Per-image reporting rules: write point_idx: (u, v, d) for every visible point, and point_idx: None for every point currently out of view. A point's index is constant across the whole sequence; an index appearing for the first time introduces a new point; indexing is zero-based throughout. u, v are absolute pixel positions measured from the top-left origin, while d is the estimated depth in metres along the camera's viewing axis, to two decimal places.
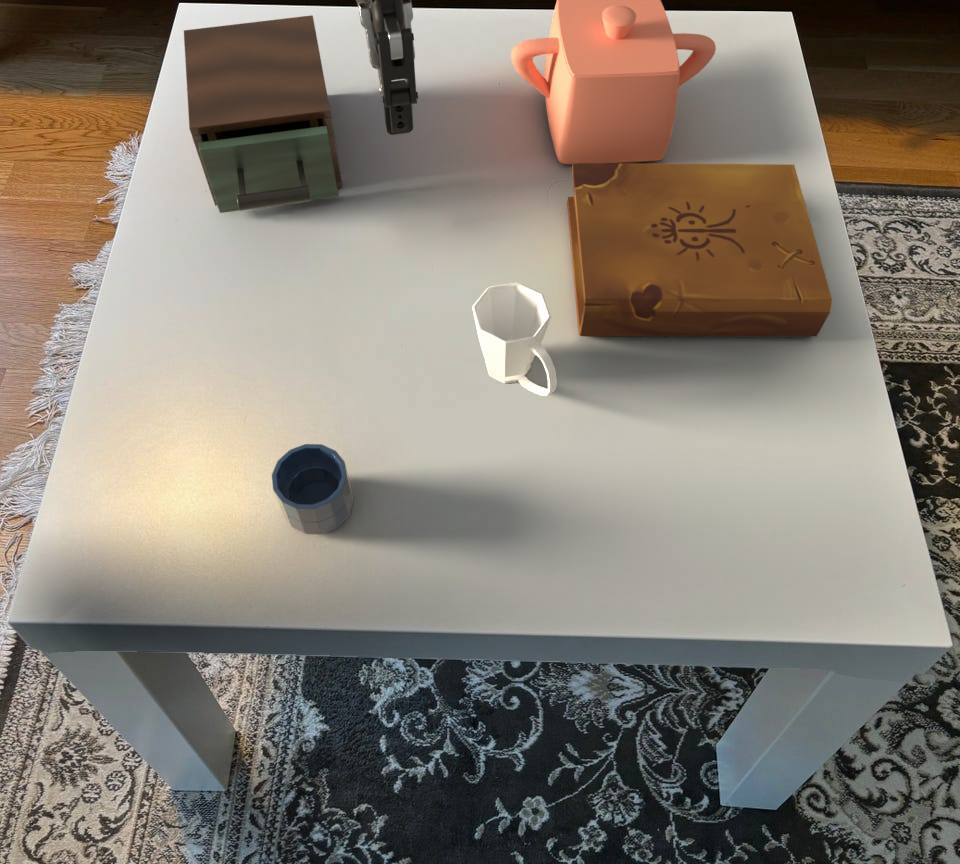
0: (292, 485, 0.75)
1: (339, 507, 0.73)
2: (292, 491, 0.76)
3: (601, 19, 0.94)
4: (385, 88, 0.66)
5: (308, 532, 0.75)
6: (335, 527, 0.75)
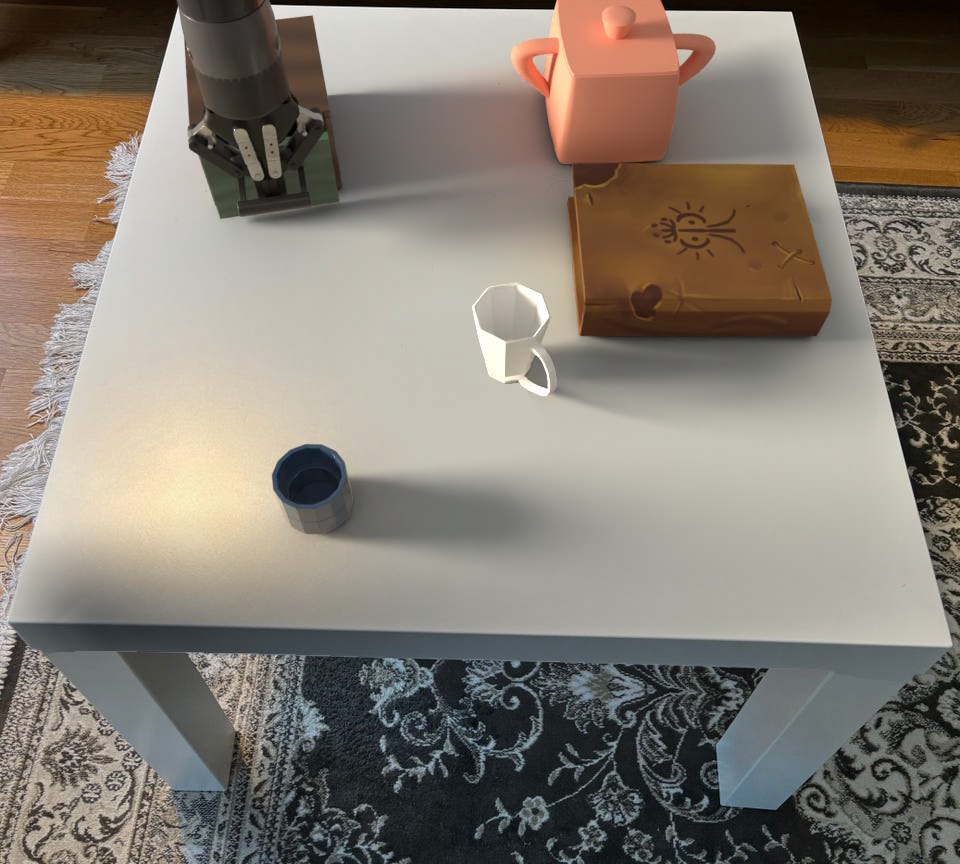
0: (292, 485, 0.75)
1: (339, 507, 0.73)
2: (292, 491, 0.76)
3: (601, 19, 0.94)
4: None
5: (308, 532, 0.75)
6: (335, 527, 0.75)
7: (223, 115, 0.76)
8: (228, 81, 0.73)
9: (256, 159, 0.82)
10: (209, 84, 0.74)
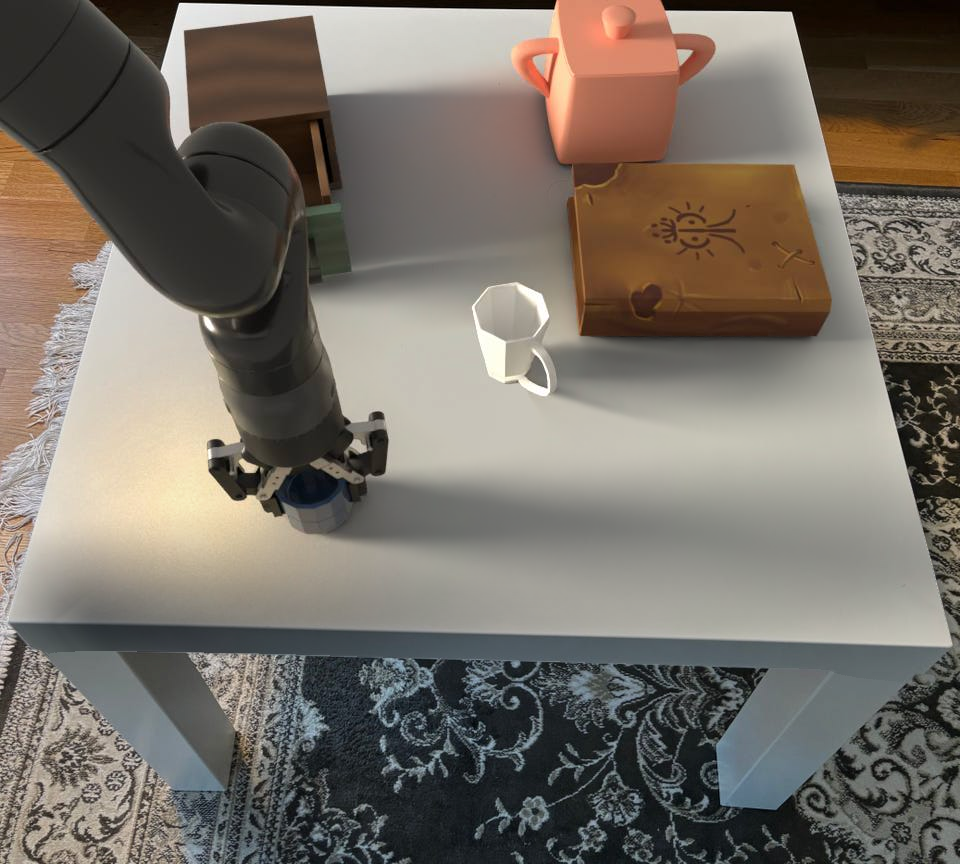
0: (292, 485, 0.75)
1: (339, 507, 0.73)
2: (292, 491, 0.76)
3: (601, 19, 0.94)
4: None
5: (308, 532, 0.75)
6: (335, 527, 0.75)
7: (266, 463, 0.64)
8: (274, 441, 0.60)
9: (278, 487, 0.70)
10: (251, 439, 0.61)
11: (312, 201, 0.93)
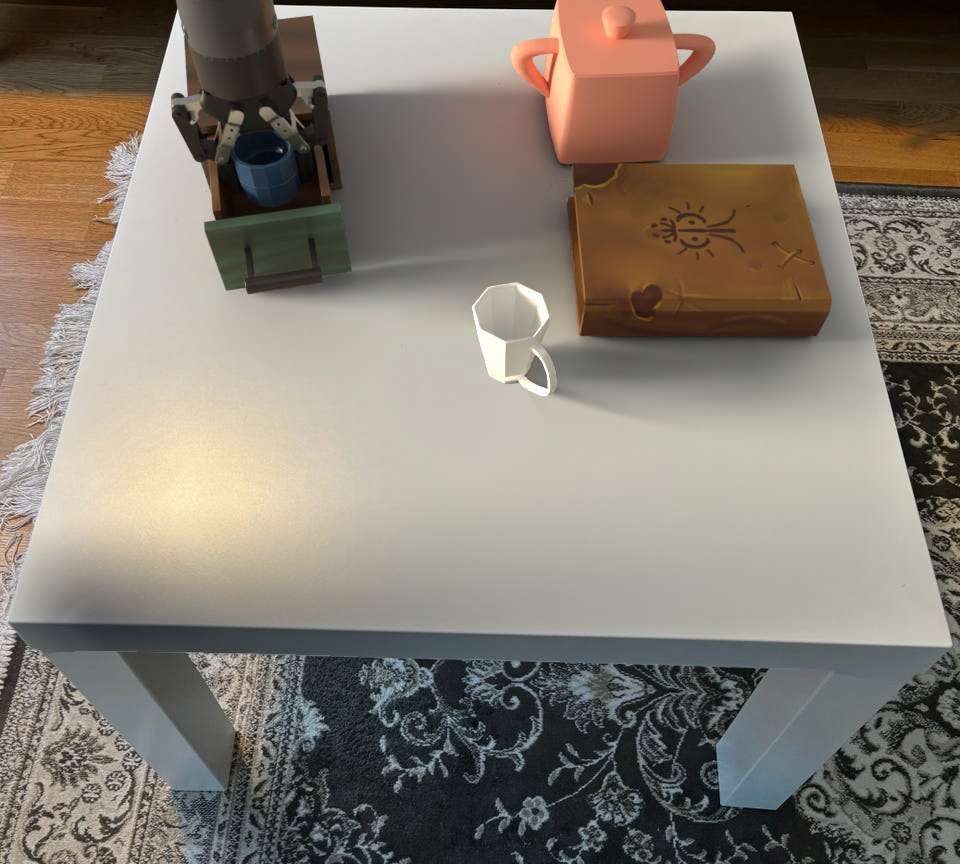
0: None
1: (288, 176, 0.84)
2: None
3: (601, 19, 0.94)
4: None
5: (262, 204, 0.86)
6: (286, 200, 0.86)
7: (219, 96, 0.75)
8: (224, 60, 0.71)
9: (233, 144, 0.81)
10: (205, 64, 0.72)
11: (312, 201, 0.93)
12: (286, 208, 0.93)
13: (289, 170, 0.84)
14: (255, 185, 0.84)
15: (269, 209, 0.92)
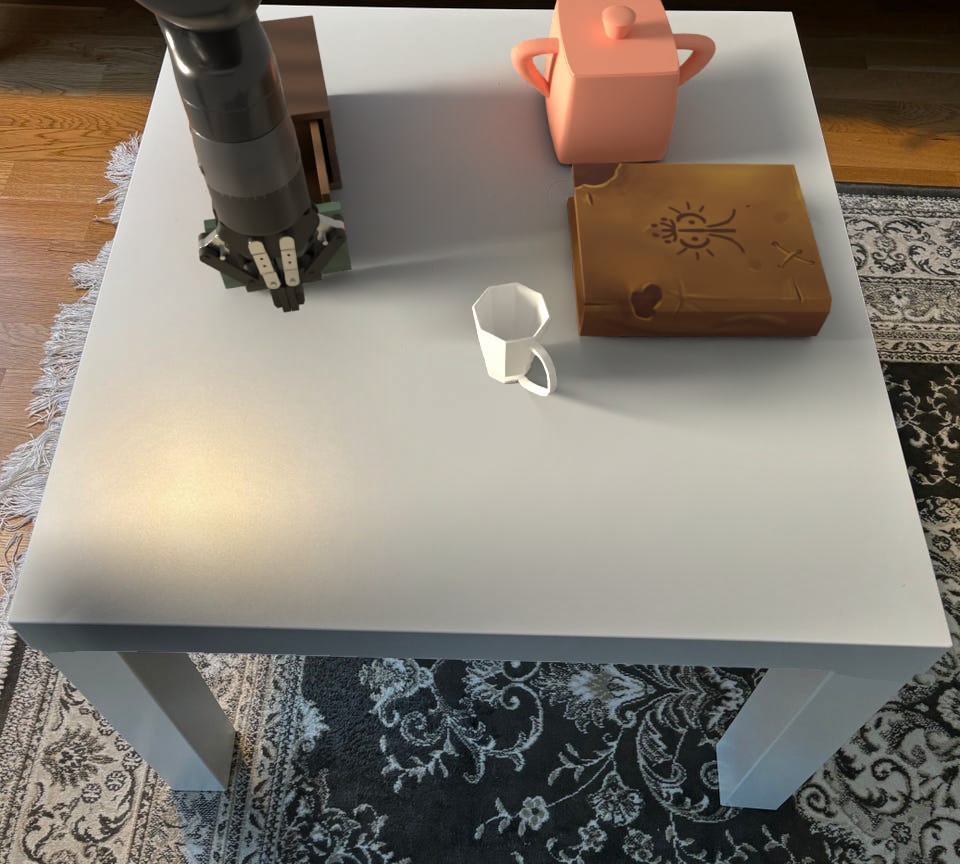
0: None
1: None
2: None
3: (601, 19, 0.94)
4: None
5: None
6: None
7: (237, 231, 0.70)
8: (243, 199, 0.66)
9: (272, 269, 0.76)
10: (223, 201, 0.67)
11: (312, 200, 0.93)
12: None
13: None
14: None
15: None
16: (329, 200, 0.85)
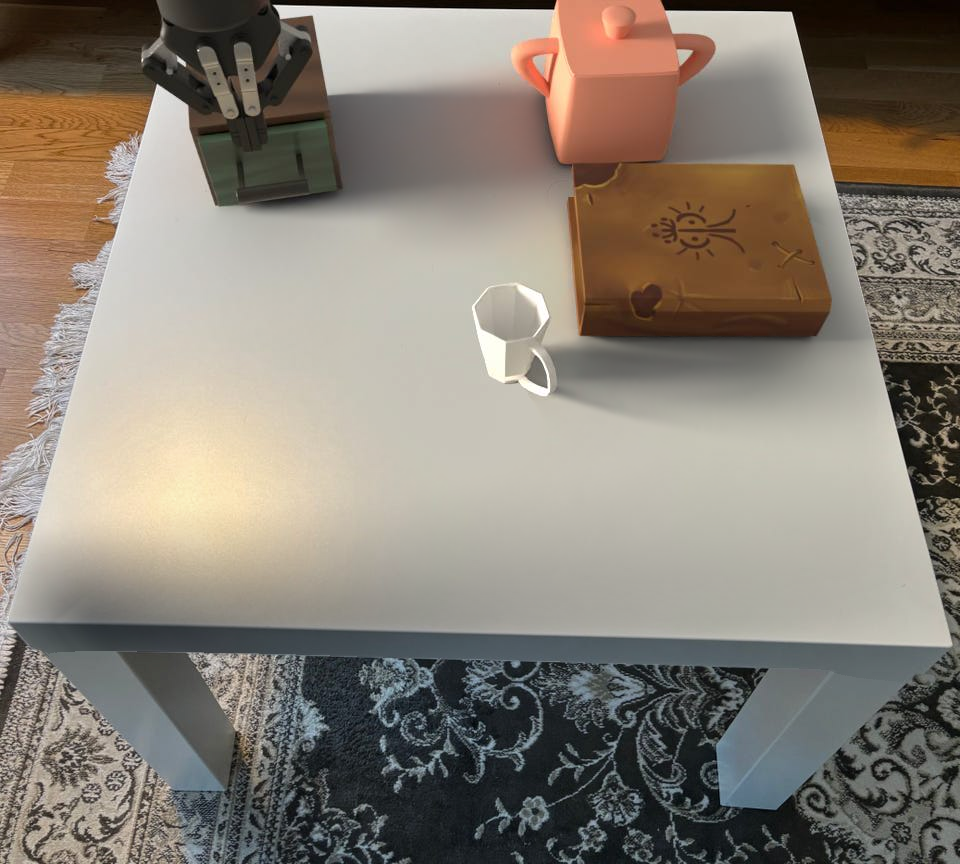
0: None
1: None
2: None
3: (601, 19, 0.94)
4: None
5: None
6: None
7: (183, 25, 0.60)
8: None
9: (227, 89, 0.66)
10: None
11: None
12: None
13: (286, 123, 0.93)
14: None
15: None
16: (316, 120, 0.91)
